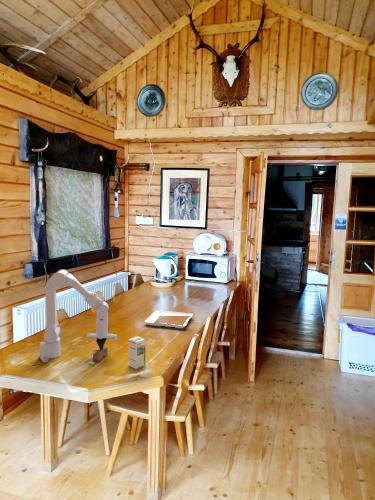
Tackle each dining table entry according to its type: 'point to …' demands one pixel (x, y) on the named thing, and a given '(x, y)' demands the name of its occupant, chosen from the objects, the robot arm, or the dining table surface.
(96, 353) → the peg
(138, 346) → the syrup box
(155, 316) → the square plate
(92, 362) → the pale green tile
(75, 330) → the dining table surface
